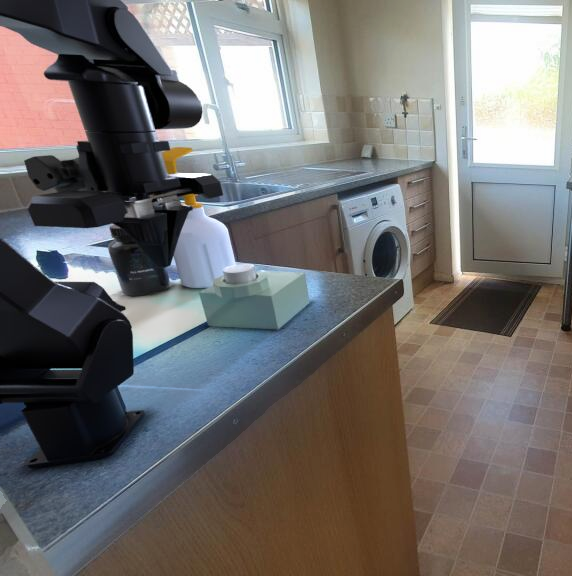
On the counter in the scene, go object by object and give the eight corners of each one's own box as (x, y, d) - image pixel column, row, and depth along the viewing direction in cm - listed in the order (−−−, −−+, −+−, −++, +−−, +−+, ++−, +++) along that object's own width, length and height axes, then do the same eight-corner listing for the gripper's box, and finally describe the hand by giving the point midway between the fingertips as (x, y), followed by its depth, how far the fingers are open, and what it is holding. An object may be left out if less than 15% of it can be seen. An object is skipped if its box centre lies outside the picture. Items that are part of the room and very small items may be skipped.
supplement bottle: (144, 298, 71) (121, 231, 66) (112, 294, 72) (88, 228, 68) (181, 284, 77) (162, 222, 73) (151, 280, 78) (131, 219, 74)
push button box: (273, 334, 62) (263, 288, 59) (201, 330, 62) (187, 284, 59) (310, 302, 72) (303, 262, 69) (248, 299, 72) (239, 259, 69)
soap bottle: (249, 275, 83) (220, 147, 73) (208, 291, 75) (170, 151, 65) (213, 269, 85) (181, 145, 75) (169, 285, 77) (127, 147, 67)
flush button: (246, 286, 60) (243, 273, 59) (219, 285, 60) (216, 272, 60) (262, 276, 64) (259, 264, 63) (237, 275, 64) (234, 263, 63)
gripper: (126, 126, 53) (161, 242, 59) (-67, 130, 36) (11, 294, 42) (211, 130, 53) (238, 246, 59) (58, 135, 35) (118, 299, 41)
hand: (163, 266), depth 50 cm, fingers closed
